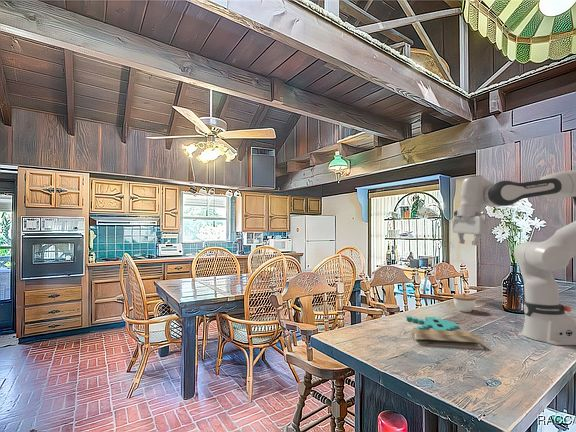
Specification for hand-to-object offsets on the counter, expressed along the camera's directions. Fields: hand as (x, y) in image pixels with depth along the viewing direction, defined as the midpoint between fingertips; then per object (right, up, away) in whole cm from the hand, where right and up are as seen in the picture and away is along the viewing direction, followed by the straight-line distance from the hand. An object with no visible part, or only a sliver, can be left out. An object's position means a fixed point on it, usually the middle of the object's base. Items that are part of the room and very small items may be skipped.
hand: (468, 244), depth 136 cm
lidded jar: (+18, -40, +35) cm, 56 cm away
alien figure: (-11, -40, +9) cm, 42 cm away
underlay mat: (-15, -39, -10) cm, 42 cm away
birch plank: (-16, -37, -13) cm, 42 cm away
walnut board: (-14, -39, -7) cm, 42 cm away
